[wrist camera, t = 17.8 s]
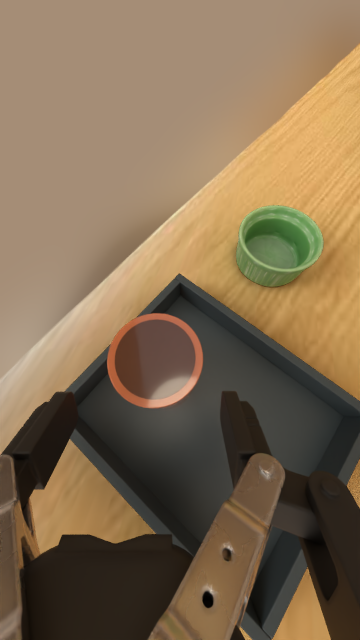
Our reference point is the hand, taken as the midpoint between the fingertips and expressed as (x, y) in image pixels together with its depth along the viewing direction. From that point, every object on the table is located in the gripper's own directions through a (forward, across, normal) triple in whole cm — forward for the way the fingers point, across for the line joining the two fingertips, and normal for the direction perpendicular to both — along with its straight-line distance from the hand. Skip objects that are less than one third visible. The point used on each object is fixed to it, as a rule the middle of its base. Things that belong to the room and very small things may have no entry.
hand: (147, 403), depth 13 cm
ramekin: (+20, -13, -4) cm, 24 cm away
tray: (+7, -4, +8) cm, 12 cm away
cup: (+9, 0, +5) cm, 11 cm away
